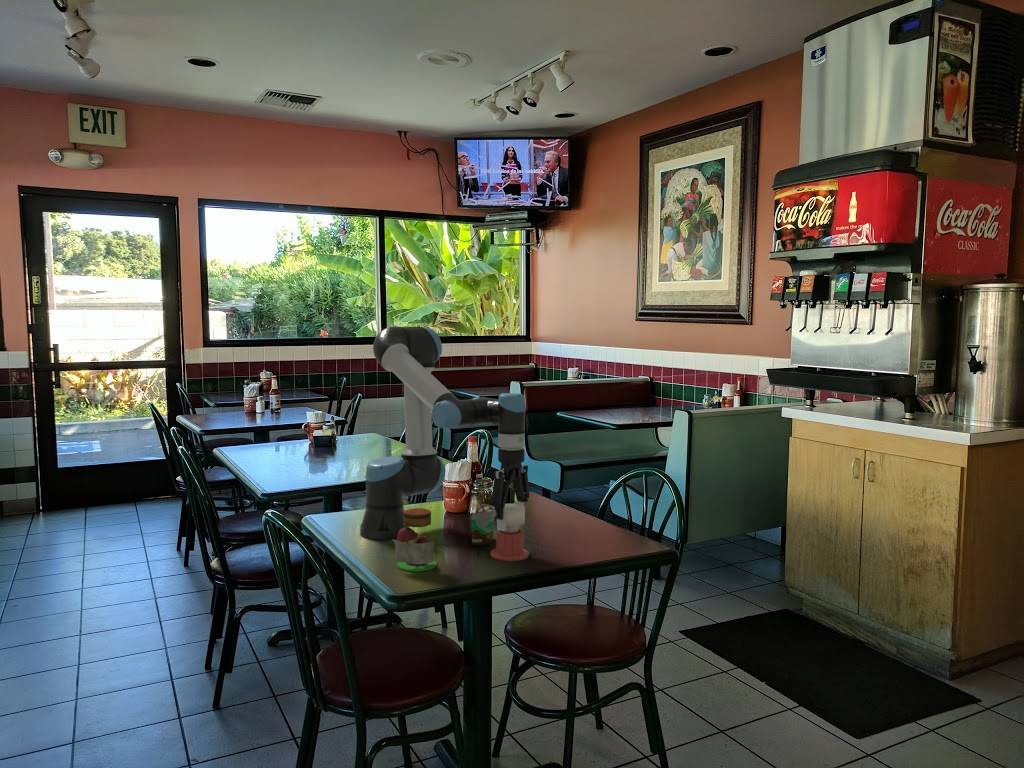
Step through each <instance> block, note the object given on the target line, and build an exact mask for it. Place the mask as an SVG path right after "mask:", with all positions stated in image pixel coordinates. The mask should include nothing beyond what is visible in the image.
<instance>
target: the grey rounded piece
mask: <svg viewBox="0 0 1024 768" xmlns="http://www.w3.org/2000/svg"><path fill="white" fill-rule="evenodd" d="M504 508H507V512H506V531H503V532H505V533H517V532H518V531H519V529H520V528H519V526H524V525H525V520H526V519H525V518H526V516H525V514H526V507H525V505H524V506H523V505H519V504H515V503H505V507H504ZM523 524H524V525H523Z"/></svg>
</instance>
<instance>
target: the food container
mask: <svg viewBox="0 0 1024 768" xmlns="http://www.w3.org/2000/svg"><path fill="white" fill-rule="evenodd" d="M495 508H496V507H493V506H492V505H490V504H487V503H486V504H484V503H481V504H480V507H479V508H477V509H476V510H475V512H471V515H470V516H471V518H470V519H471V544H472V546H473V545H474V546H479V545H487V544H491V543H492V542H493V535H494V527H495V526H494V523H495V517H497V509H495Z"/></svg>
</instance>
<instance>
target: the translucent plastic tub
mask: <svg viewBox="0 0 1024 768" xmlns="http://www.w3.org/2000/svg"><path fill="white" fill-rule="evenodd" d="M431 524H432V511H431V510H430V509H427V508H420V507H418V508H416V507H415V508H414V507H413V508H408V509H406V510H404V525H405V526H409V528H408V527H407V528H402V529H400V530H399V532H398V537H397V538H396V539H391V541H393V543H394V546H395V547H394V548H395V555H394V556H395V558H394V559H395V561H397V567H398V569H400V570H403V571H407V572H425V571H430V570H432V569H434V568H436V567H437V566H438V564H437V561H436V560H435V557H434V556H435V555H434V550H435V542H434V541H430V540H429V538H428V537H427V536H425V535H420V536H419V533H418V532H416V531H415V530H414V529H412V528H425V527H427V526H430V525H431ZM412 541H414V542H413V543H411V542H412Z"/></svg>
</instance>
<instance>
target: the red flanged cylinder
mask: <svg viewBox="0 0 1024 768" xmlns="http://www.w3.org/2000/svg"><path fill="white" fill-rule="evenodd" d="M524 533H525V532H524V530H523V529H522V528H519V531H518V532H517V533H505V532H503V531H500V530H497V529H496V538H495V539H496V543H495V544H496V546H495V547H496V548H493V549H492V550H491V551H490V557H491V558H492V559H494V560H497V561H502V562H518V561H519V562H520V561H524V560H526V559H529V557H530V551H529V550H527V549H525V548H524V540H525V539H524V535H525V534H524Z"/></svg>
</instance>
